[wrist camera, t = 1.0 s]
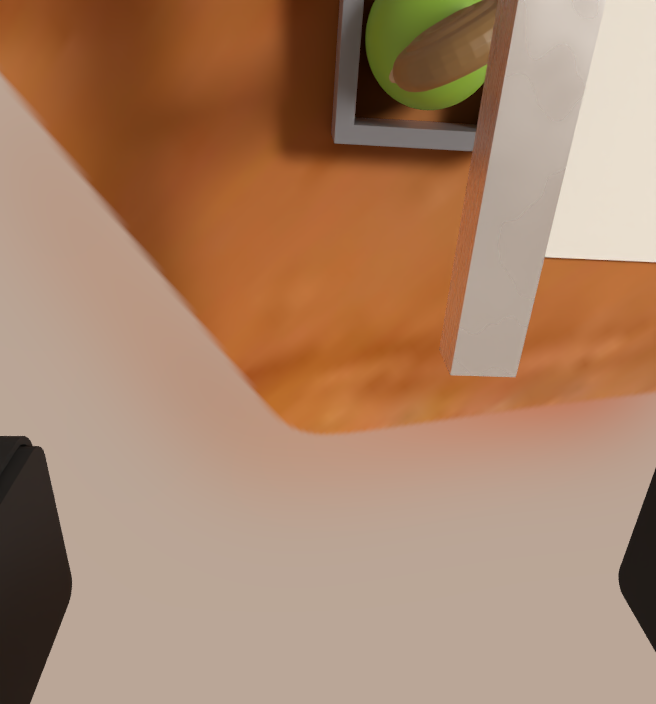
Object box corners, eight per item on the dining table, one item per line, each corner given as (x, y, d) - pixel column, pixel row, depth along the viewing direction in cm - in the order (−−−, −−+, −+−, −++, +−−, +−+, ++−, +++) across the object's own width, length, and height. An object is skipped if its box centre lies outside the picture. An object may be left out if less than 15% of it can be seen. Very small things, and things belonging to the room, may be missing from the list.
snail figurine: (522, 47, 28) (661, 66, 17) (394, 124, 29) (450, 186, 18) (473, -80, 25) (599, -149, 15) (337, 10, 27) (363, 5, 16)
